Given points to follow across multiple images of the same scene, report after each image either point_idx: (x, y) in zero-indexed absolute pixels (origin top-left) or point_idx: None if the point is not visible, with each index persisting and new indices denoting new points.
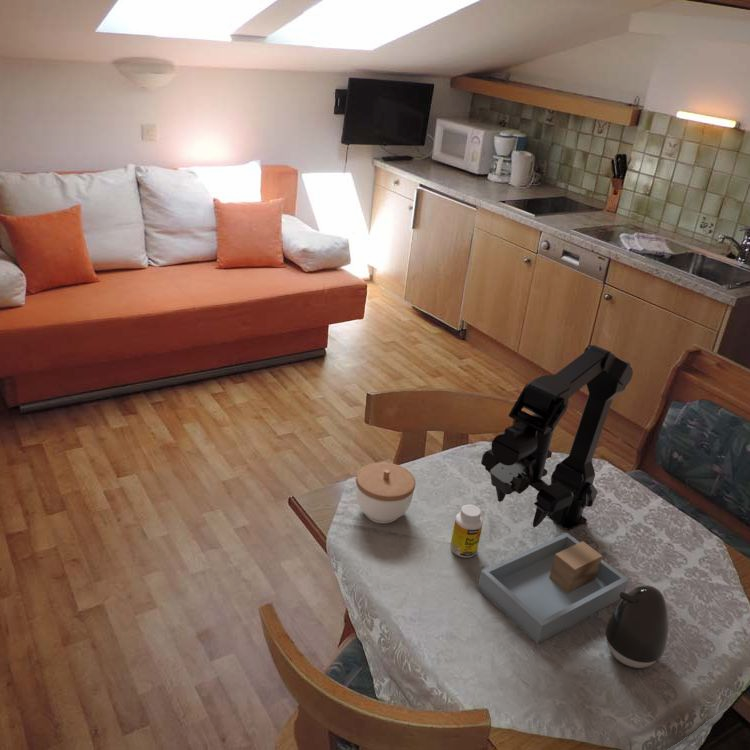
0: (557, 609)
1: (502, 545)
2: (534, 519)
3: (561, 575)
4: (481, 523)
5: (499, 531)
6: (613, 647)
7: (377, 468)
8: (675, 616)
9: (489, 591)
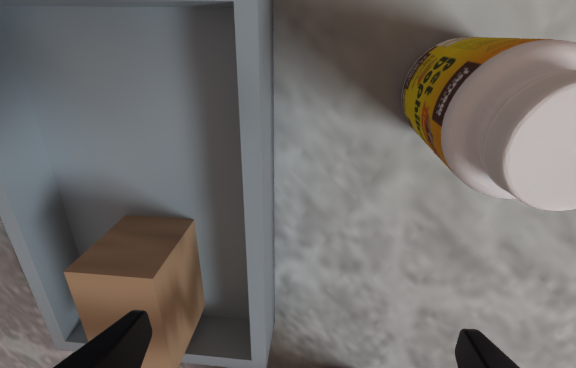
0: (81, 144)
1: (377, 216)
2: (86, 363)
3: (140, 238)
4: (454, 158)
5: (426, 252)
6: None
7: None
8: (24, 334)
9: None
